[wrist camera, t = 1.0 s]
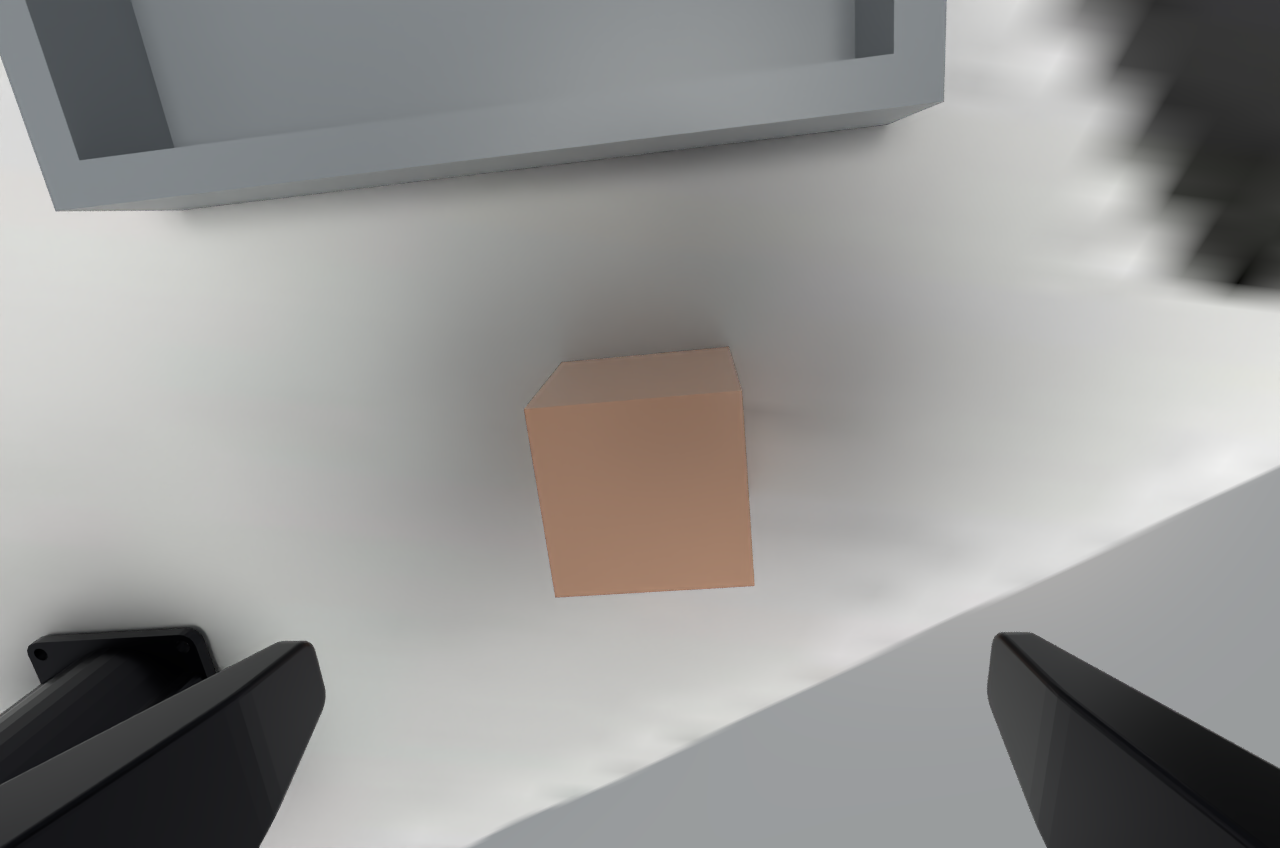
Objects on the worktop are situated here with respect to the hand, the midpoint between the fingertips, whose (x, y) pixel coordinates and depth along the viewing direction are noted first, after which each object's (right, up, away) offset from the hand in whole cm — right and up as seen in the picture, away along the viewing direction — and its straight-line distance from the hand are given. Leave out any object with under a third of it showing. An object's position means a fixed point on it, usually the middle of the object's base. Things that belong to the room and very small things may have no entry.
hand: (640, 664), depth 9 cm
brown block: (0, +3, +12) cm, 12 cm away
